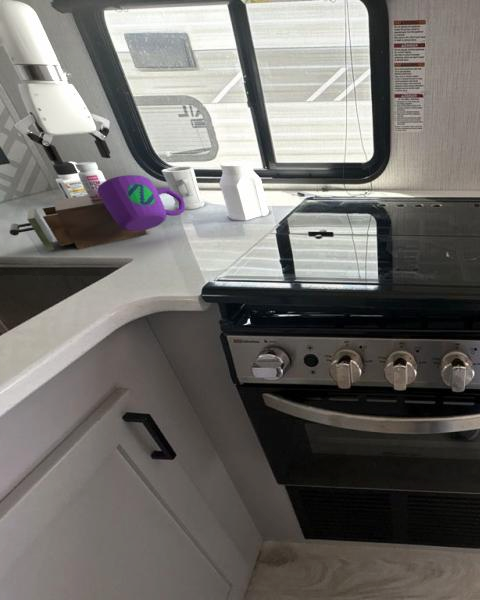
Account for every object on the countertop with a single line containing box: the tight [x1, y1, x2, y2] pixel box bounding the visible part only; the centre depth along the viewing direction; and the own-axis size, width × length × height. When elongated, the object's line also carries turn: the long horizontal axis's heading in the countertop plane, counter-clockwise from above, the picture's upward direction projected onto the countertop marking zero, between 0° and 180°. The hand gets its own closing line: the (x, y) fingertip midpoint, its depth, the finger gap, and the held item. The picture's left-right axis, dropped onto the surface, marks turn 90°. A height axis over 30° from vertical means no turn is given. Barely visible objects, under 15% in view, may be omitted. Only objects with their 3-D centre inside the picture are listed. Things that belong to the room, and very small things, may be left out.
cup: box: [161, 166, 206, 211], centre depth 108 cm, size 10×9×12 cm
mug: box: [98, 174, 186, 231], centre depth 84 cm, size 17×11×10 cm
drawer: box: [9, 205, 75, 252], centre depth 82 cm, size 18×11×8 cm, turn 133°
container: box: [52, 161, 88, 199], centre depth 117 cm, size 8×8×13 cm
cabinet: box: [53, 195, 148, 250], centre depth 87 cm, size 15×13×10 cm
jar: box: [218, 160, 269, 221], centre depth 99 cm, size 12×10×15 cm
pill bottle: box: [75, 161, 107, 200], centre depth 83 cm, size 5×5×8 cm
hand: (83, 160), depth 81 cm, fingers open, 9 cm apart
